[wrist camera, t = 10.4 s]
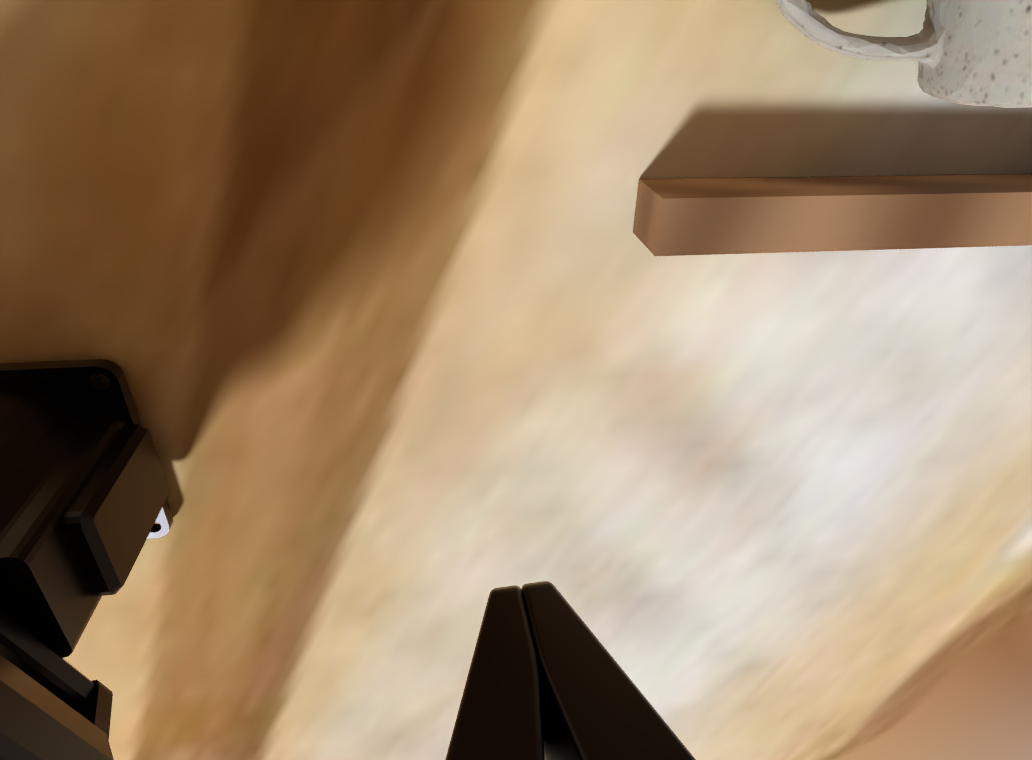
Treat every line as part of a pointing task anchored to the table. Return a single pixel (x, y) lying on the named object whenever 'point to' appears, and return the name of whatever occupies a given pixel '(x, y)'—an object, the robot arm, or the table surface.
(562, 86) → the table surface
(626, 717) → the robot arm
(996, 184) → the walnut corral
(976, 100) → the ceramic mug
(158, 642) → the table surface
